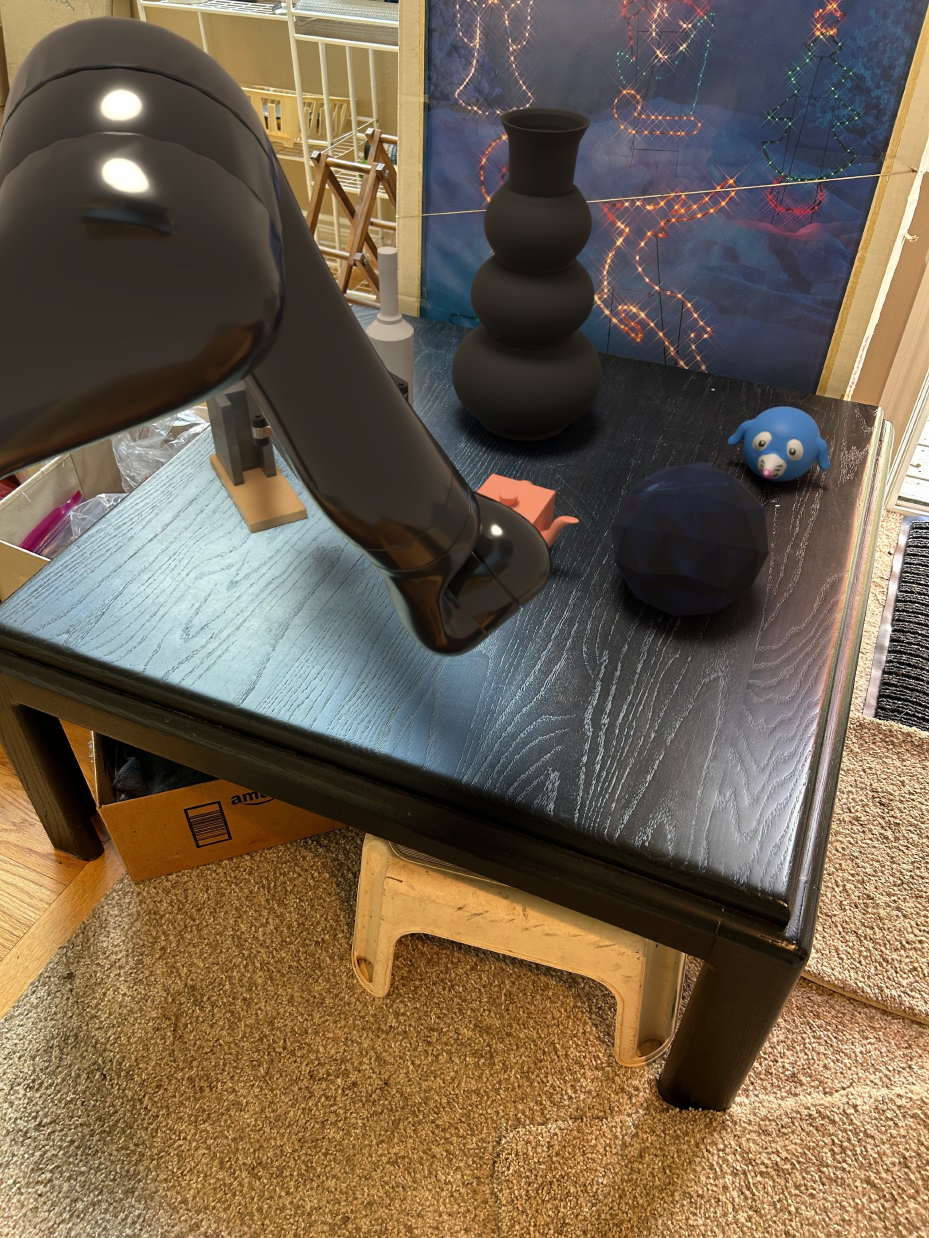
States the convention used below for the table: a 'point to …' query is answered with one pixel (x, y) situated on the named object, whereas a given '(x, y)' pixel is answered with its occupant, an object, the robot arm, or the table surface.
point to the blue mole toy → (782, 444)
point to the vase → (532, 289)
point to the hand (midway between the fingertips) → (292, 363)
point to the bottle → (392, 323)
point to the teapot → (528, 503)
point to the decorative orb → (690, 539)
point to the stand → (249, 465)
